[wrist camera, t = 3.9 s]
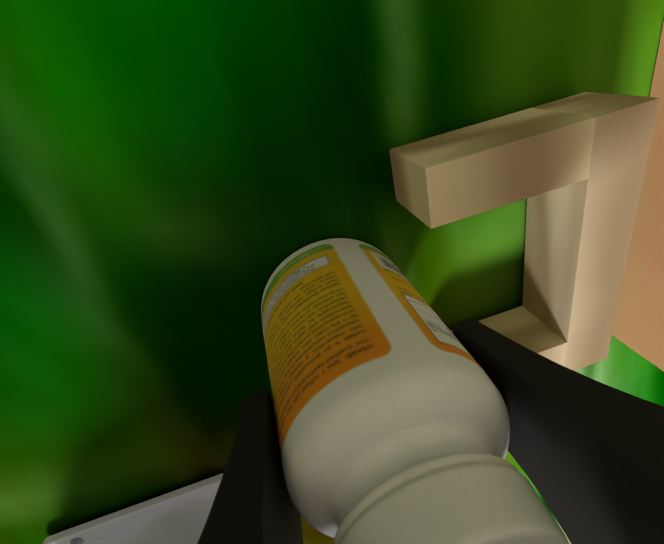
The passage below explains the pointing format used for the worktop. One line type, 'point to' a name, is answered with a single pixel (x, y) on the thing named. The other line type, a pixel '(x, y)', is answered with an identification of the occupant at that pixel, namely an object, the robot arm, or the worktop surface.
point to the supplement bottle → (387, 410)
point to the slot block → (546, 208)
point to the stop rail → (647, 249)
